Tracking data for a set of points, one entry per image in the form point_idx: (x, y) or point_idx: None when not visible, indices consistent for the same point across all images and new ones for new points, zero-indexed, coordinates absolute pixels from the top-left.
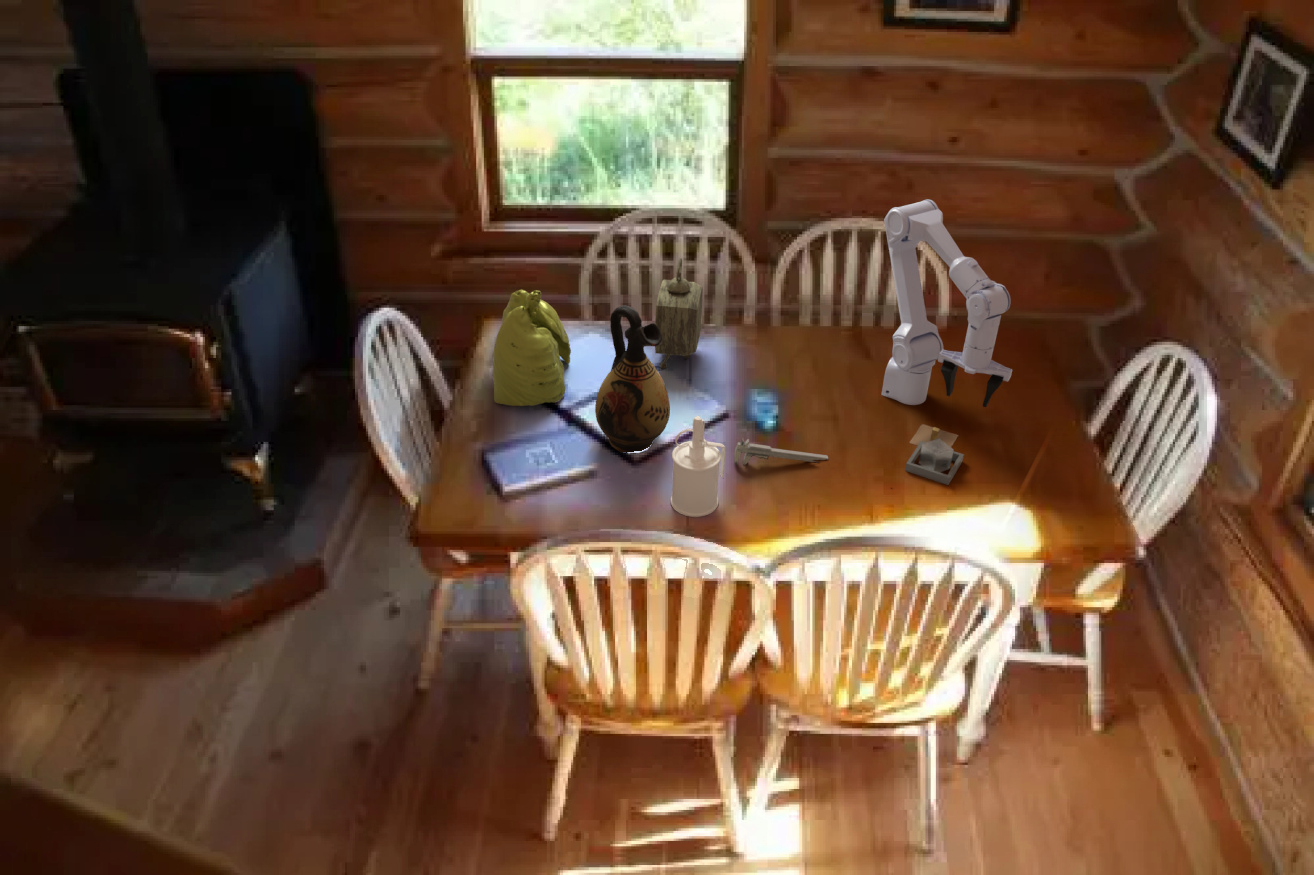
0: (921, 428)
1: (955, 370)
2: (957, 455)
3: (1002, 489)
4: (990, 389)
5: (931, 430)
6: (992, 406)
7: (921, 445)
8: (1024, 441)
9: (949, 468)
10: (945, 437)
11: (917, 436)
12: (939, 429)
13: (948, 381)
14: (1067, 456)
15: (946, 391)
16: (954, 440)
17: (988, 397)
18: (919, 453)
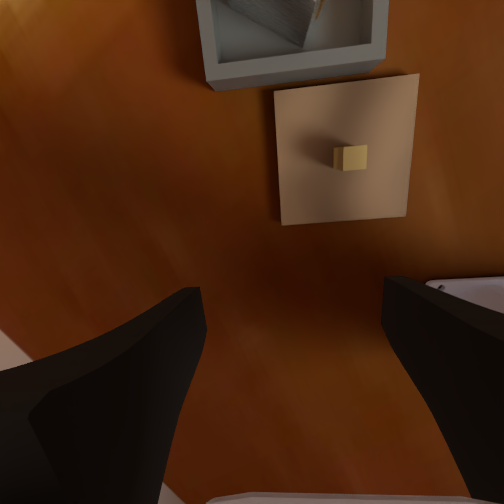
0: (400, 190)
1: (492, 463)
2: (225, 64)
3: (53, 42)
4: (86, 356)
5: (366, 200)
6: (260, 393)
7: (374, 21)
8: (135, 308)
9: (230, 4)
10: (312, 190)
11: (400, 134)
12: (342, 169)
13: (483, 318)
14: (32, 307)
15: (421, 284)
16: (282, 192)
17: (143, 315)
18: (363, 13)
